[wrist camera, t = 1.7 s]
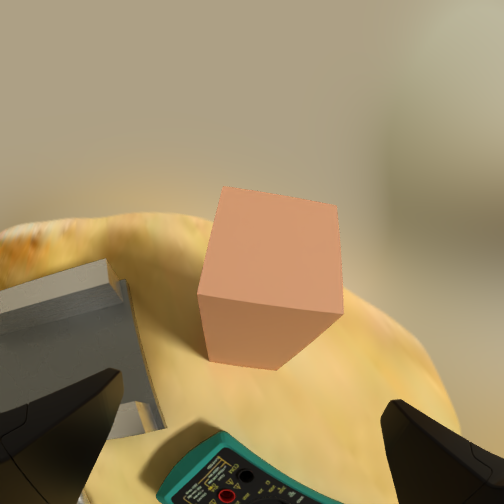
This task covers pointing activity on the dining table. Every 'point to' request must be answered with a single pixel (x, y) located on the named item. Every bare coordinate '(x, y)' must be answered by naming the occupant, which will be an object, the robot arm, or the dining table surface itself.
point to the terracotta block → (269, 278)
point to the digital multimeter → (231, 478)
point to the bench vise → (75, 343)
